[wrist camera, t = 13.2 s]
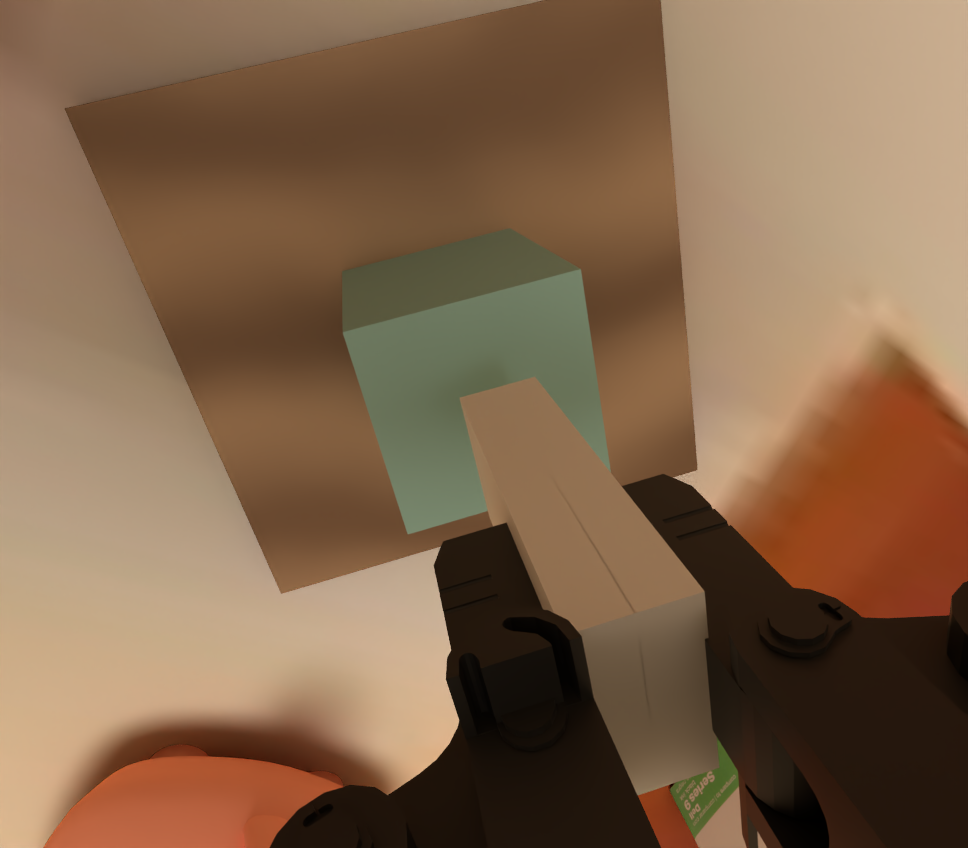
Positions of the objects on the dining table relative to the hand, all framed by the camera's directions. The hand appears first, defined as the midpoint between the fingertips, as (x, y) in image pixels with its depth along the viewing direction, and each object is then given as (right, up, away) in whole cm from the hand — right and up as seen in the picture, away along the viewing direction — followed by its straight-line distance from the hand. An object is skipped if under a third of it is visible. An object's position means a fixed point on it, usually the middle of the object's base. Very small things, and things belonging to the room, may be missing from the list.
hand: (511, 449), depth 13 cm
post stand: (-2, +4, +9) cm, 10 cm away
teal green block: (-2, +3, +8) cm, 9 cm away
